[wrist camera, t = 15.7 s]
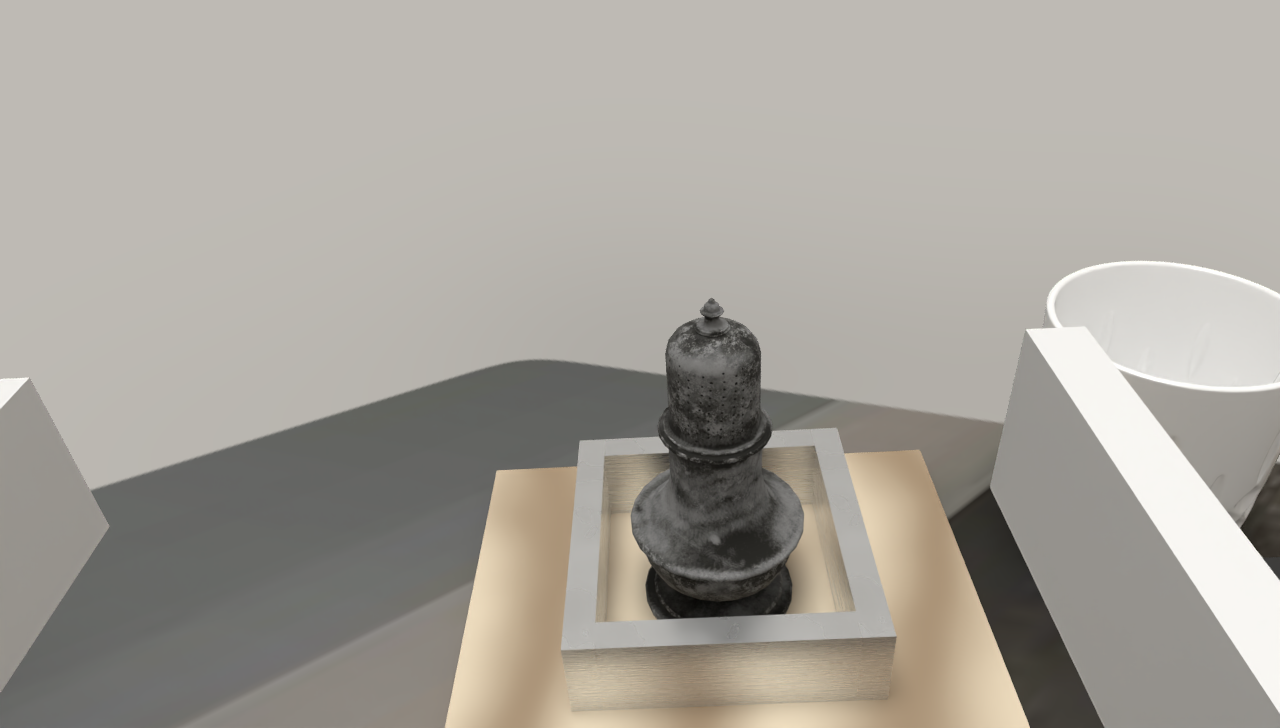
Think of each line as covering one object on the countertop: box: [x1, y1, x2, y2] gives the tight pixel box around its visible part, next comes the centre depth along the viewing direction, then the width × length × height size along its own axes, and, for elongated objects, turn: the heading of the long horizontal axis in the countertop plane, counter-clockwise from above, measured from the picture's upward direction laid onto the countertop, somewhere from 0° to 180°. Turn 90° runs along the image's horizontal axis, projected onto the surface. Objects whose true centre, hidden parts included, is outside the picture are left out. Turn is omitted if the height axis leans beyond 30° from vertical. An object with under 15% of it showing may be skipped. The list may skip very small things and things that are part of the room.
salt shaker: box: [631, 298, 804, 620], centre depth 30 cm, size 6×6×12 cm
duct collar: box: [561, 428, 897, 712], centre depth 32 cm, size 10×10×3 cm
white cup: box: [1043, 261, 1280, 528], centre depth 32 cm, size 8×8×10 cm
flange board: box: [445, 450, 1030, 728], centre depth 33 cm, size 18×14×1 cm
